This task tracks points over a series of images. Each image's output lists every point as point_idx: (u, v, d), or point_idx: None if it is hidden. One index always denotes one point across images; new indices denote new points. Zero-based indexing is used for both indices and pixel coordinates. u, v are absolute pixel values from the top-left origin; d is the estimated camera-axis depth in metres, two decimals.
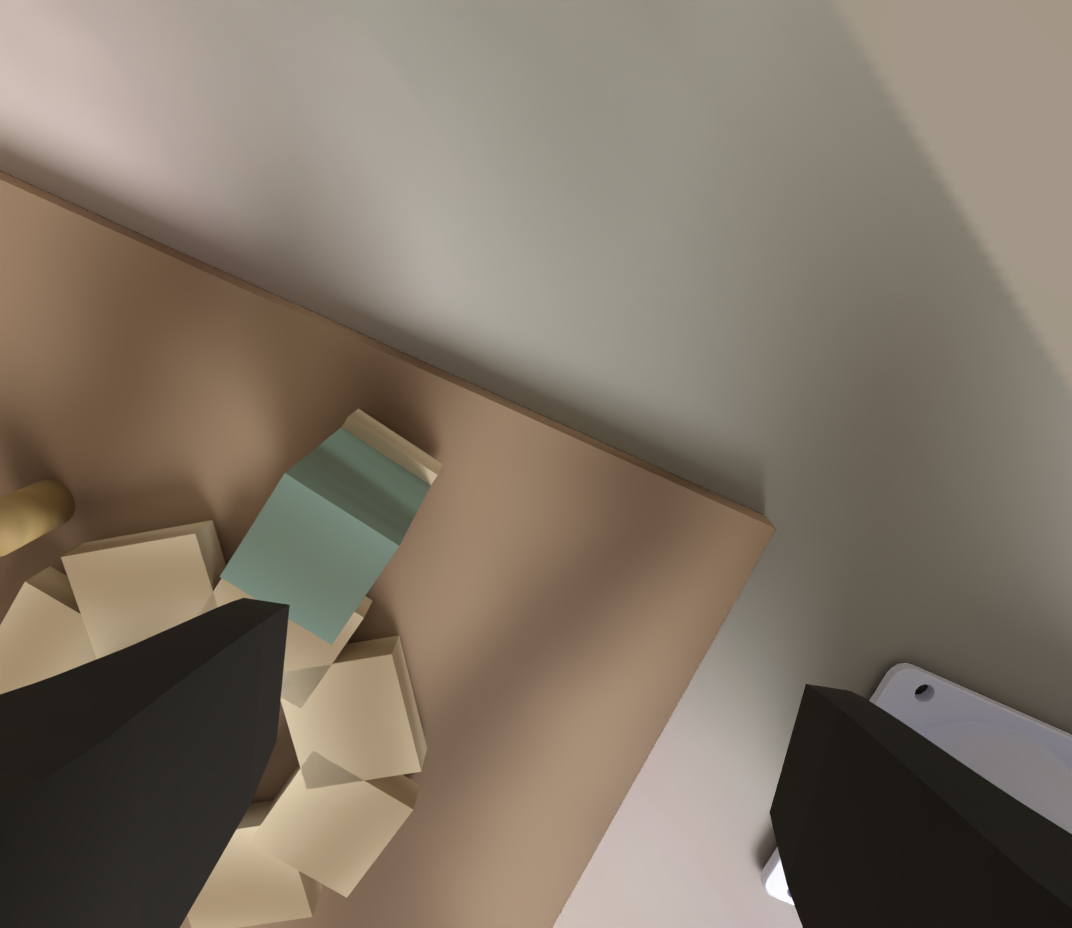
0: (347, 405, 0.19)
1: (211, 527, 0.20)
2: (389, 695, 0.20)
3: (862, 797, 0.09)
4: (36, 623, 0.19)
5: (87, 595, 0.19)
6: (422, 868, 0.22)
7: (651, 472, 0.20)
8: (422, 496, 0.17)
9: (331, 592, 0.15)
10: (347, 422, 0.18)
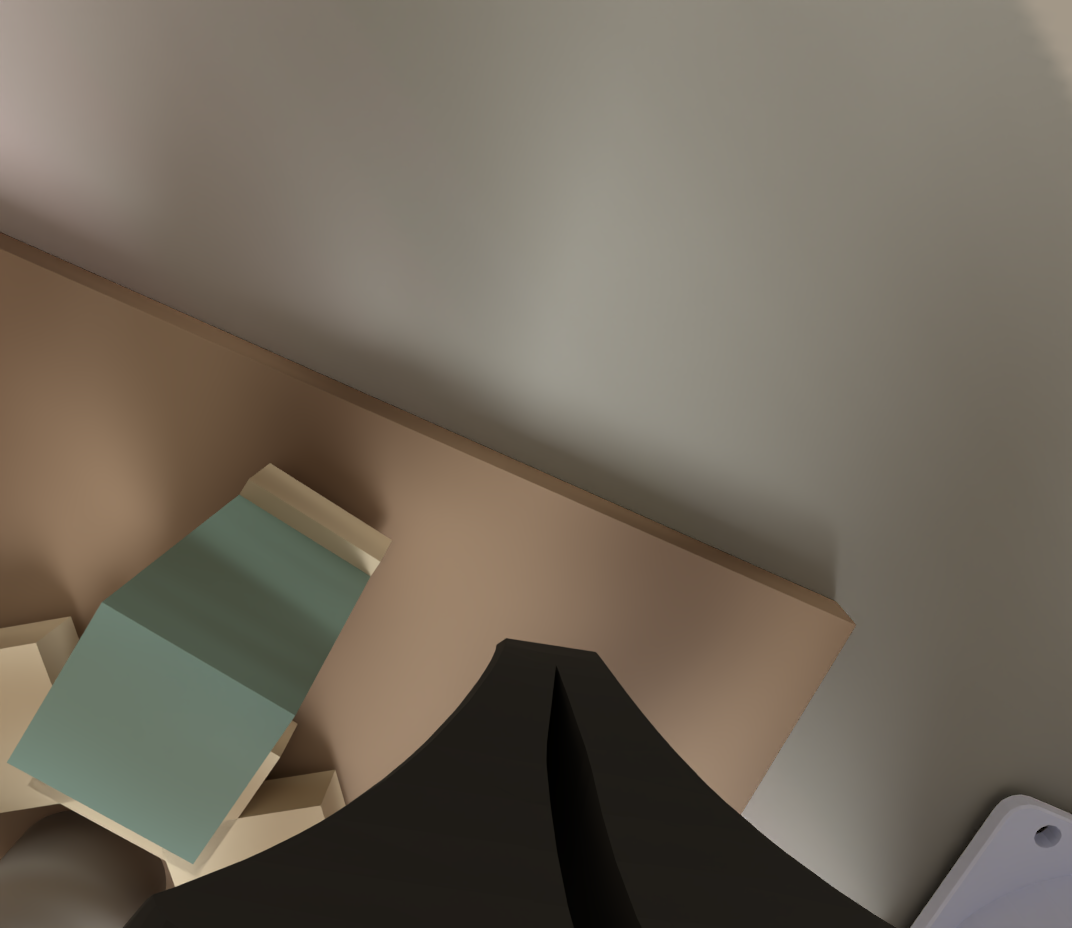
0: (256, 457, 0.14)
1: (68, 626, 0.14)
2: None
3: (556, 751, 0.09)
4: None
5: None
6: None
7: (684, 549, 0.14)
8: (353, 600, 0.12)
9: (188, 786, 0.09)
10: (248, 487, 0.12)
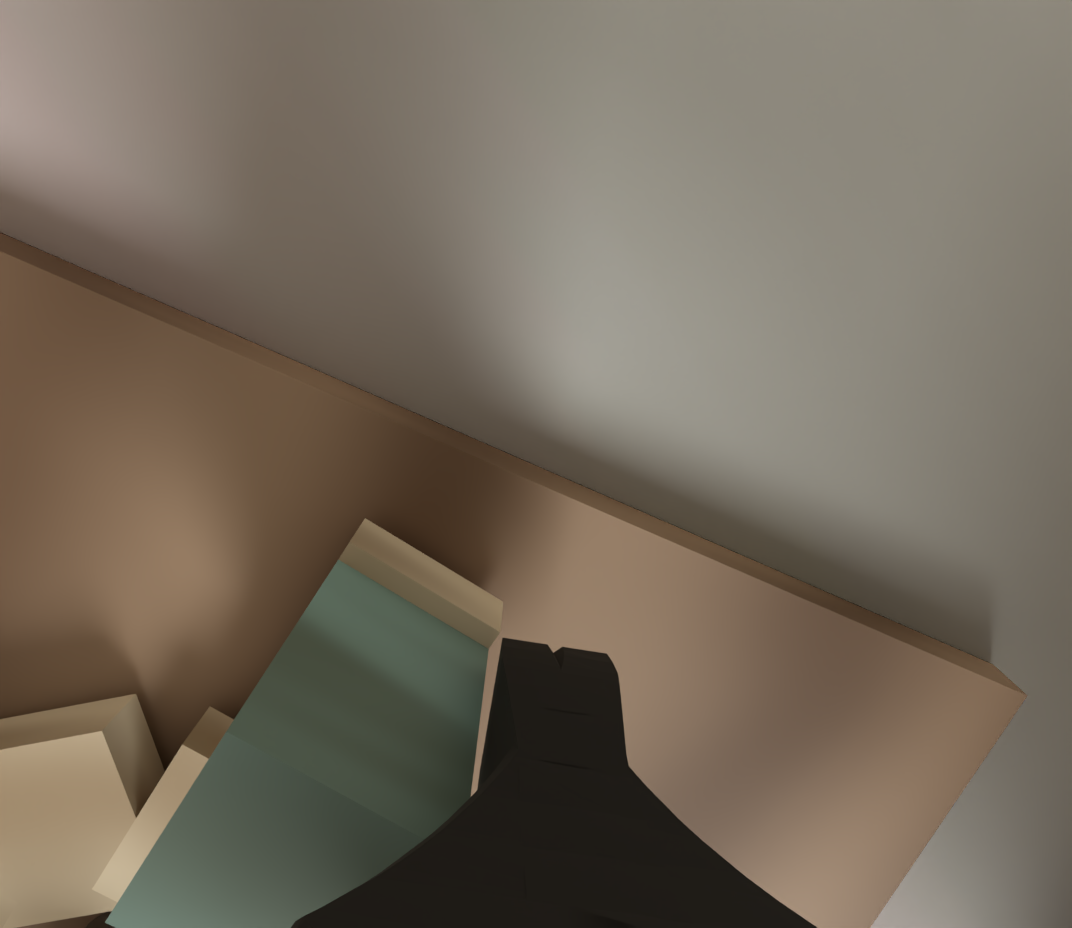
0: (355, 514, 0.12)
1: (135, 706, 0.12)
2: None
3: (498, 742, 0.09)
4: None
5: None
6: None
7: (837, 613, 0.12)
8: (479, 683, 0.10)
9: None
10: (348, 551, 0.11)
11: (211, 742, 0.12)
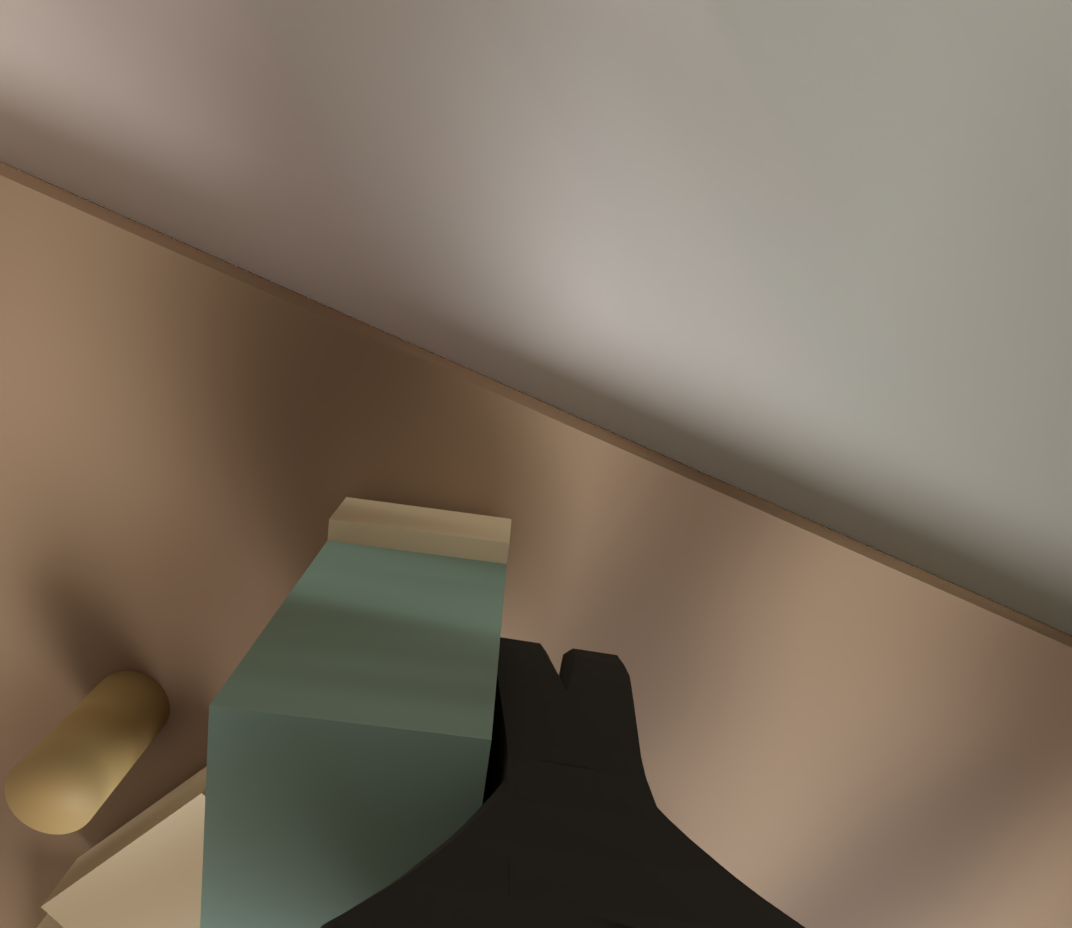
0: (612, 555, 0.12)
1: None
2: None
3: None
4: None
5: None
6: None
7: None
8: (498, 593, 0.10)
9: None
10: (332, 528, 0.11)
11: None
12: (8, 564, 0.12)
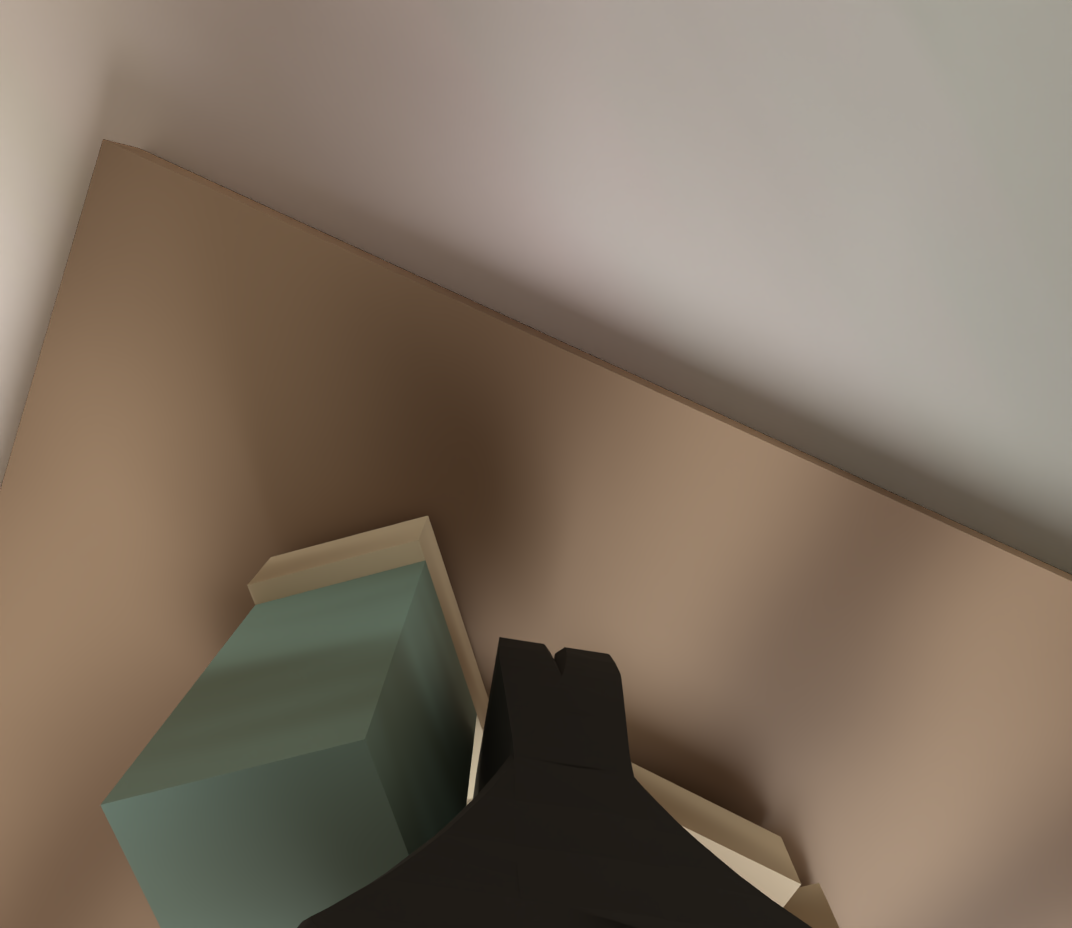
0: (792, 567, 0.12)
1: None
2: None
3: (494, 742, 0.09)
4: None
5: None
6: None
7: None
8: (410, 592, 0.10)
9: None
10: (255, 592, 0.11)
11: None
12: (187, 574, 0.12)
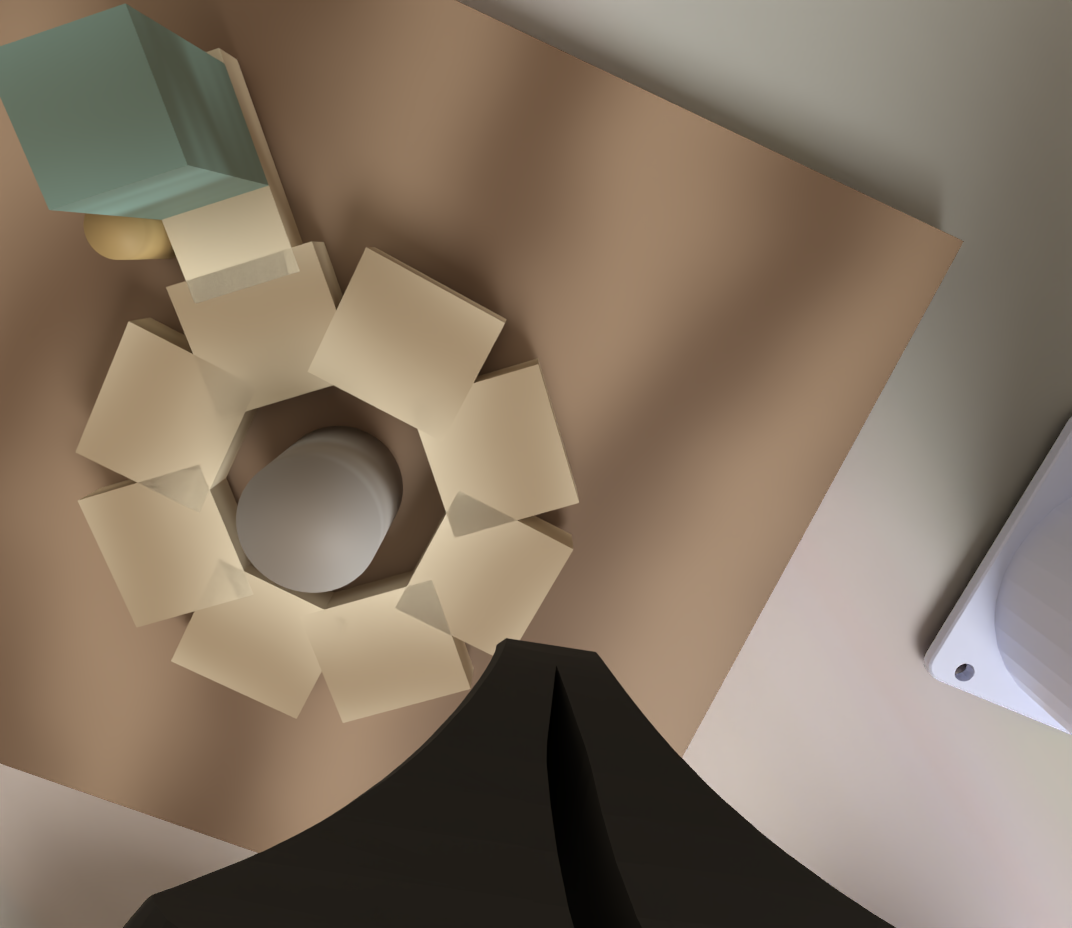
0: (495, 104, 0.17)
1: (153, 321, 0.18)
2: (405, 285, 0.17)
3: (556, 751, 0.09)
4: (121, 524, 0.18)
5: (124, 462, 0.18)
6: None
7: (829, 178, 0.18)
8: (202, 52, 0.15)
9: (132, 116, 0.12)
10: None
11: (186, 282, 0.17)
12: None
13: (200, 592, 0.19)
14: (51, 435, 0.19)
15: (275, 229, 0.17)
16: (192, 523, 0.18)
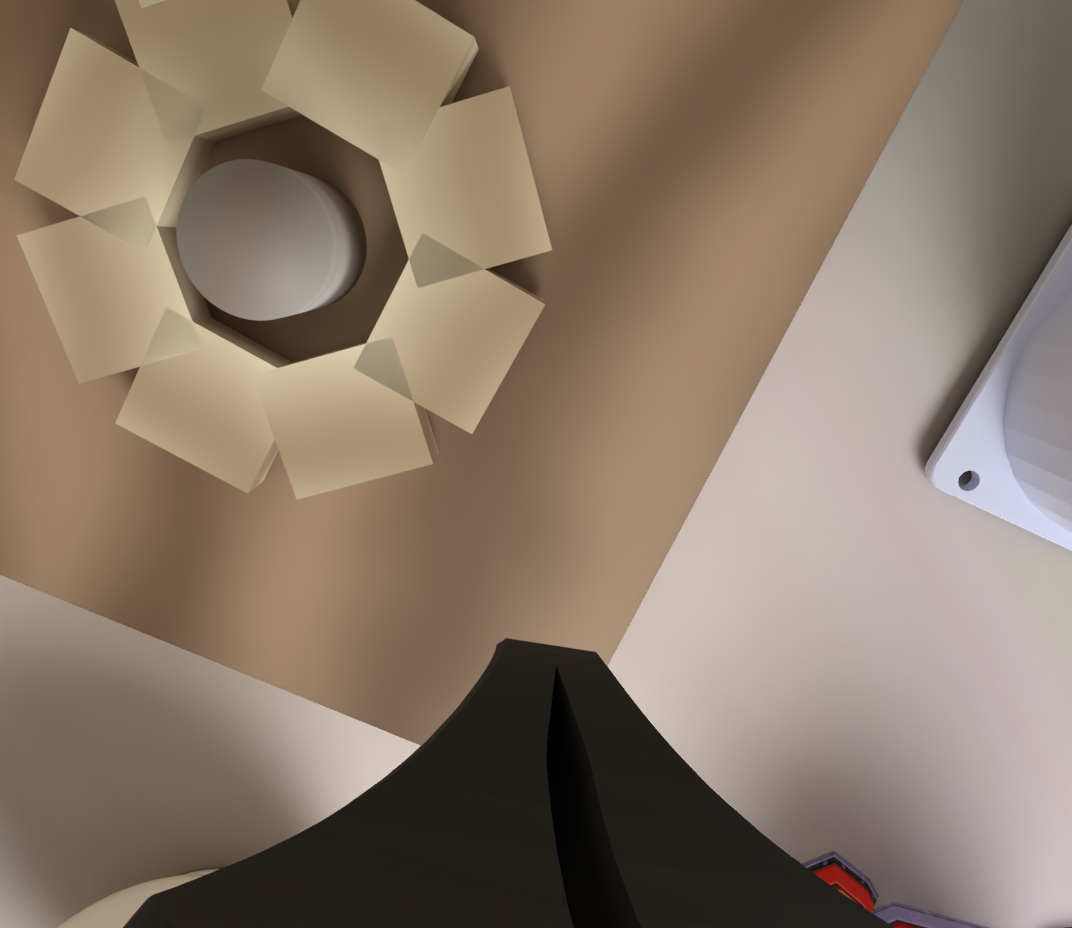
0: None
1: (100, 42, 0.17)
2: None
3: (555, 752, 0.09)
4: (62, 264, 0.17)
5: (66, 192, 0.17)
6: (537, 443, 0.19)
7: None
8: None
9: None
10: None
11: None
12: None
13: (146, 345, 0.18)
14: None
15: None
16: (138, 264, 0.17)
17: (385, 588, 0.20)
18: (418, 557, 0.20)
